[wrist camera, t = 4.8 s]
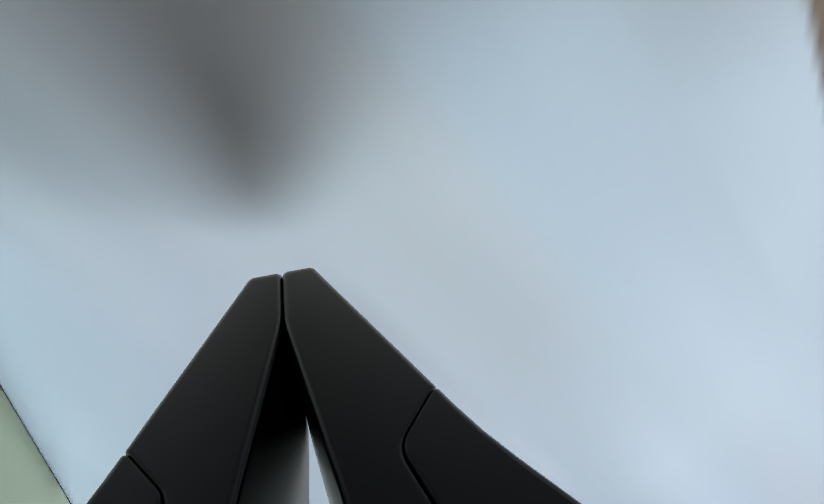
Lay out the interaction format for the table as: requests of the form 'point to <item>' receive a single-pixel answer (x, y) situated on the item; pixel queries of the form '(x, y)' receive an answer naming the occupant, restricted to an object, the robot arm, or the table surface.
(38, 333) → the table surface
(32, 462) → the tray
